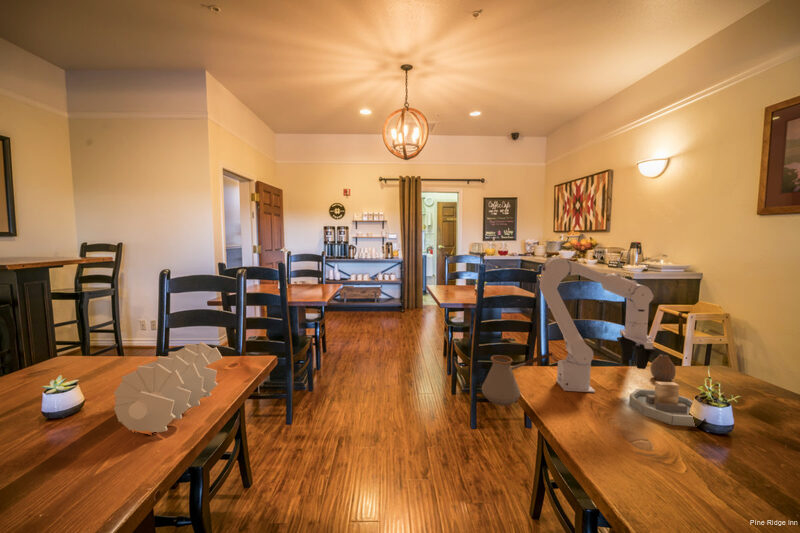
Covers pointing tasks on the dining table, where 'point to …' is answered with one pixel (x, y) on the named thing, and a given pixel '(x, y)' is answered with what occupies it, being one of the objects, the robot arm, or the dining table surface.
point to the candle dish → (658, 414)
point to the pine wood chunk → (666, 392)
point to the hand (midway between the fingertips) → (634, 363)
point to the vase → (663, 368)
